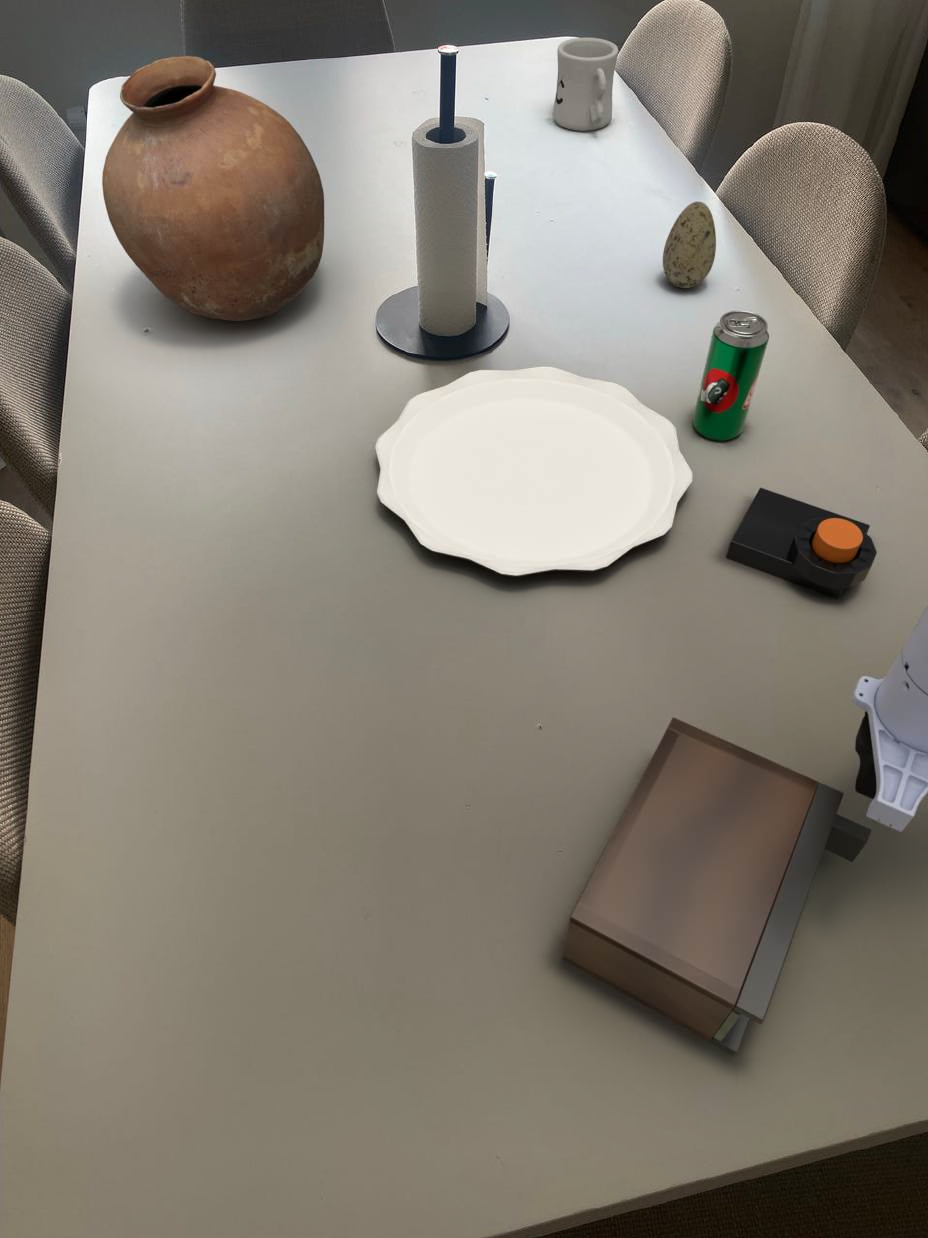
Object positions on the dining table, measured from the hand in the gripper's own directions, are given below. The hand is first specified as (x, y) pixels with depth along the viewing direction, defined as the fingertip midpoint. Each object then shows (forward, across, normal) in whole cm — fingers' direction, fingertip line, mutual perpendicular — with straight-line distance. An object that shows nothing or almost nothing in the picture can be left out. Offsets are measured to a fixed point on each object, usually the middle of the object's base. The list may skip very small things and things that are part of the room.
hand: (872, 790), depth 61 cm
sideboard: (+4, +11, -8) cm, 14 cm away
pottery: (+5, -32, -82) cm, 88 cm away
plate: (+5, -21, -36) cm, 42 cm away
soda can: (+5, -37, -24) cm, 44 cm away
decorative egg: (+5, -61, -37) cm, 71 cm away
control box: (+4, -24, -12) cm, 27 cm away
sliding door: (+3, +7, -1) cm, 8 cm away
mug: (+5, -97, -67) cm, 118 cm away
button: (+1, -22, -8) cm, 24 cm away
